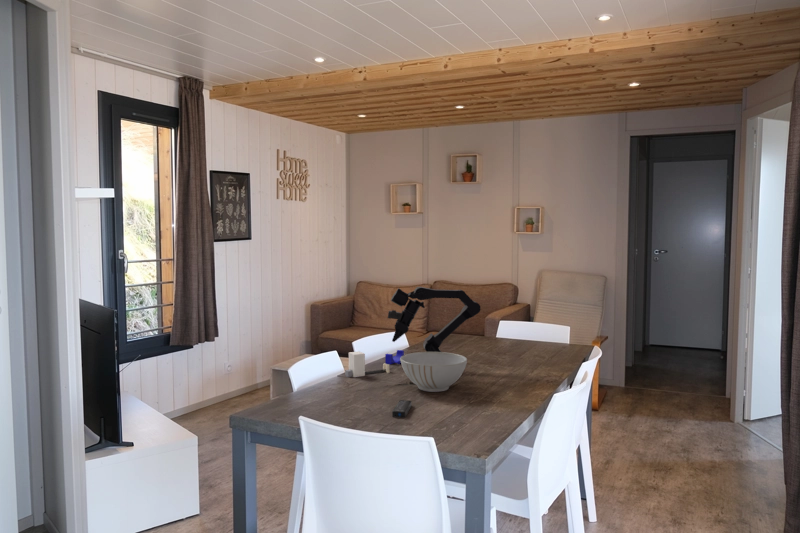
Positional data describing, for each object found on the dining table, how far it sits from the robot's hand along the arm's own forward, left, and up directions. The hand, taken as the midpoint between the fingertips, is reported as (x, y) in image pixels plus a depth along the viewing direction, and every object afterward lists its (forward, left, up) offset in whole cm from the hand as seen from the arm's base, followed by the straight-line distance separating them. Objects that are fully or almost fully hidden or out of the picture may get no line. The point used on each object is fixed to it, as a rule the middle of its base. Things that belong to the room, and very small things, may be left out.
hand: (392, 341), depth 276 cm
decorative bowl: (-29, +22, -13) cm, 39 cm away
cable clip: (+4, -9, -13) cm, 17 cm away
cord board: (+3, +18, -13) cm, 22 cm away
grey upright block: (+6, +22, -11) cm, 26 cm away
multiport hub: (-32, +57, -13) cm, 66 cm away
